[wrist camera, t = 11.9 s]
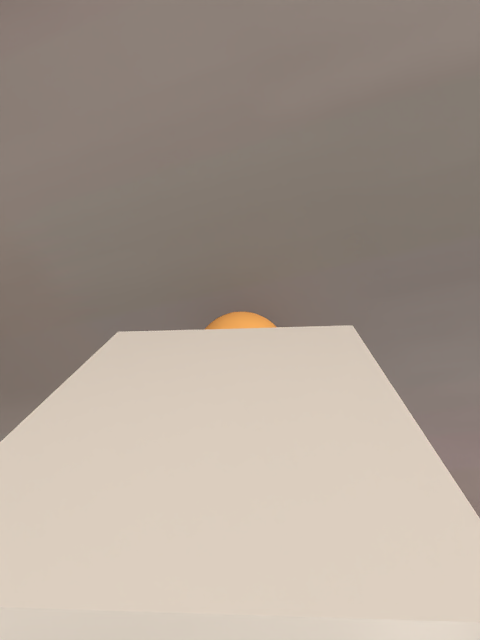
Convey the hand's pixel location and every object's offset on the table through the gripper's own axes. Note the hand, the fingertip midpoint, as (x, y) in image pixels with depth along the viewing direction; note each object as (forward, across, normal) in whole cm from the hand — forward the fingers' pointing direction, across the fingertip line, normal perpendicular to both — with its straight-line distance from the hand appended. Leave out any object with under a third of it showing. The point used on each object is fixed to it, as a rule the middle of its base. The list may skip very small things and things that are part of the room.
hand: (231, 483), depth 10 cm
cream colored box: (+2, 0, 0) cm, 2 cm away
